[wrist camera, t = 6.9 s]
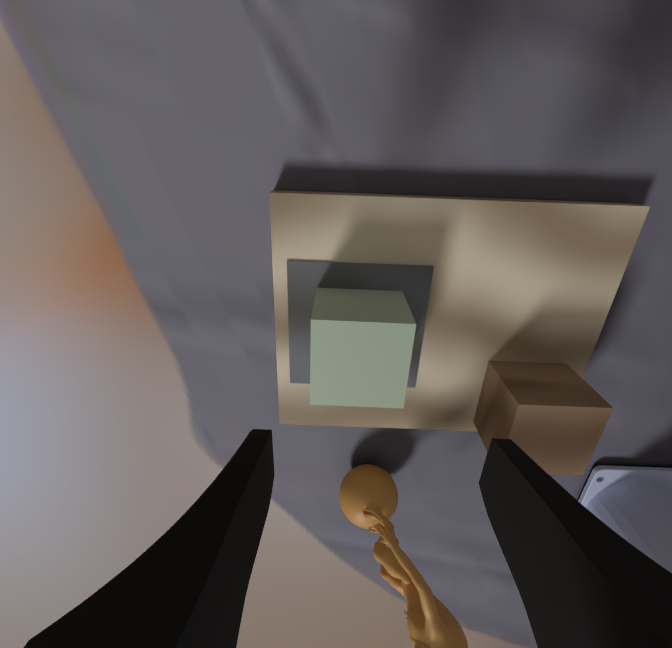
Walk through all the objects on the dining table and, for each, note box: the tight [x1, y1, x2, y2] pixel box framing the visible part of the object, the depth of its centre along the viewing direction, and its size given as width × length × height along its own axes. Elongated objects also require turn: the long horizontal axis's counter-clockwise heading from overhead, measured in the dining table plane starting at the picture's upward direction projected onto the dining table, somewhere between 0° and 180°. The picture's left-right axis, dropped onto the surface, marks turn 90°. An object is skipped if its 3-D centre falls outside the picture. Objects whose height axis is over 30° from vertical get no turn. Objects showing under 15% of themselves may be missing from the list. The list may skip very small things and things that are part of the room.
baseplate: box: [269, 190, 650, 431], centre depth 21 cm, size 14×18×1 cm
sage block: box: [310, 288, 416, 409], centre depth 18 cm, size 4×4×4 cm
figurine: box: [339, 464, 468, 648], centre depth 21 cm, size 8×6×12 cm
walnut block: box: [473, 361, 613, 476], centre depth 20 cm, size 4×4×4 cm
